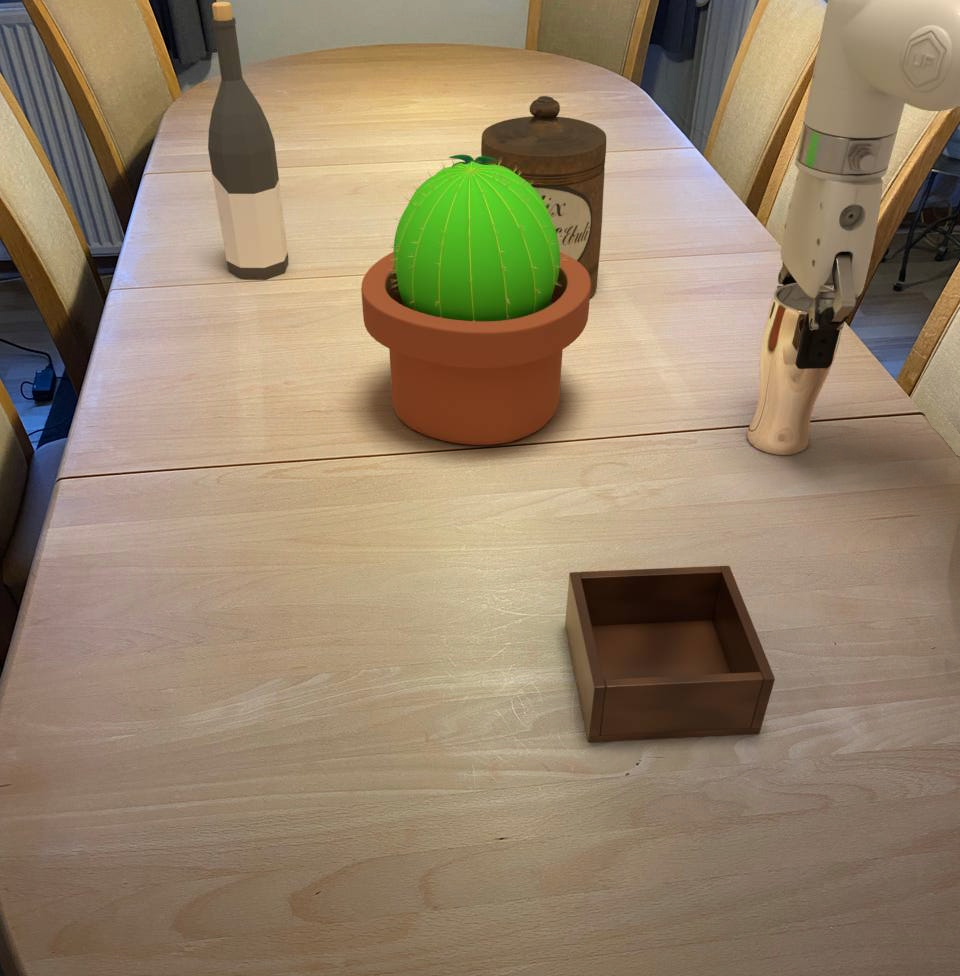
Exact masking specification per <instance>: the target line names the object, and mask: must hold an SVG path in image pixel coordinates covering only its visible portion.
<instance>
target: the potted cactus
mask: <svg viewBox="0 0 960 976" xmlns="http://www.w3.org/2000/svg"><path fill="white" fill-rule="evenodd" d="M448 159H452V160H454V161H451V162H452V165H451V166H447V167H446V163H444V161H441V164H442V165H439V166H440V170H438V171H437V172H436V173H435V174H434V175H431V174H430V173H431V172H430V170H429V172H427V174H428V176H429V178H427V179H426V180H424V182H423V183H422V184H420V185H419V186H417V187H416V186H415V185H413V184H412V185H411V186H412V188H413V189H415V191H414V193H413V194H412V196H411V198H410V199H409V198H408V197H405V199H406V201H408V204H407V206H405V209H404V211H403V213H402V214H401V216H400V219H398V218H396V216H393V218H394V217H395V221H397V222H398V224H397V227H396V230H395V235H394V239H393V240H394V241H393V245H391V246H390V248H391V249H393V251H392V252H390V253H388V254H387V255H384V256H383V257H381V258H380V259H379V260H378V261H376V262H375V263H374V264H373V265H371V267H370V268H369V269H368V270H367V271H366V273H365V274H364V276H363V278H362V282H361V288H360V289H361V306H362V316H363V317H362V318H363V324H364V327H365V329H366V332H367V333H368V335H370V336H371V337H372V338H373V339H374V340H375V341H376V342H377V343H379V344H381V345H382V346H384V347H385V348H387V349H388V350H389V364H390V365H389V366H390V384H391V397H392V398H391V401H392V406H393V410H394V412H395V414H396V416H397V417H398V419H399V420H400V421H401V422H402V423H403V424H405V425H406V426H408V427H409V428H410V429H412V430H414V431H415V432H418V433H420V434H422V435H424V436H427V437H430V438H433V439H436V440H439V441H443V442H444V441H445V442H448V443H453V444H460V445H469V446H491V445H492V446H493V445H501V444H507V443H511V442H516V441H518V440H521V439H523V438H526V437H528V436H530V435H532V434H534V433H535V432H537V431H539V430H540V429H541V428H543V427H544V426H545V425H547V423H548V422H549V421H551V419H552V418H553V416H554V415H555V413H556V411H557V409H558V406H559V403H560V395H561V394H560V393H561V380H562V379H561V378H562V365H563V352H564V351H563V350H564V349H566V348H567V347H569V346H570V345H571V344H573V343H574V342H575V341H576V340H577V339H578V338H579V337H580V336H581V334H583V332H584V330H585V328H586V327H587V323H588V320H589V314H590V301H591V297H590V289H591V281H590V276H589V274H588V272H587V270H586V269H585V268H584V267H583V266H582V265H581V264H580V263H579V262H578V261H576V260H575V259H573V258H571V257H570V256H568V255H566V254H564V253H561V252H560V248H559V242H558V239H561V238H558V237H557V233H556V230H555V229H556V228H555V227H554V225H553V222H552V220H551V218H550V215H549V212H548V210H547V207H546V205H545V204H546V203H547V202H546V203H544V200H542V198H541V196H540V195H539V194H538V192H537V191H536V190H535V189H534V188H533V187H532V186H531V184H532V183H533V182H532V183H531V184H529V183H528V182H529V181H528V182H527V181H525V180H524V179H523V178H521V177H519V175H517V174H515V173H514V172H515V171H516V169H514V170H515V171H514V172H513V171H511V170H510V169H508V168H506V167H503V166H499V163H500V162H499V163H498V165H496V164H494V163H493V164H490V163H486V162H489V161H498V160H496V159H493V158H490V157H485V156H481V155H480V156H477V157H476V158H473V157H472V156H471V155H469V154H455V155H452V156H451V155H450V156H449V157H448ZM502 159H503V158H502ZM456 160H461V161H456ZM485 163H486V164H485ZM496 163H497V162H496ZM515 166H516V165H515ZM516 168H517V167H516ZM519 172H520V170H519ZM520 173H521V172H520ZM520 173H518V174H520ZM548 198H549V197H548ZM545 200H546V199H545ZM548 202H549V201H548ZM549 204H550V203H549ZM547 205H548V204H547ZM555 217H556V216H555ZM553 219H554V218H553ZM557 219H558V218H557ZM554 220H555V219H554ZM557 227H558V226H557ZM558 228H560V227H558ZM563 236H564V235H563ZM562 239H563V238H562ZM561 247H565V246H561Z"/></svg>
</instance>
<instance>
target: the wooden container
mask: <svg viewBox="0 0 960 976" xmlns="http://www.w3.org/2000/svg"><path fill="white" fill-rule="evenodd" d="M560 112H561V105H560V103H559V101H557V100H556V99H554V98H553V97H552V96H548V95H540V96H538V98H537V99H535V100H533V101H532V102H531V103H530V106H529V113H530V114H531V115H530V116H520V117H514V118H510V119H505V120H501V121H499V122H495V123H493V124H491V125H489V126H487V127H486V128H485V129H484V130H483V131H482V133H481V143H480V145H481V146H480V147H481V148H480V154H481V155H480V156H485V157H490V158H493V159H496V160H498V161H489V162H486V163H490V164H493V163H494V164H496V165H498V163H499V162H500V163H499V166H503V167H506V168H508V169H510V170H511V171H513V172H514V171H515V170H514V169H516V171H515V172H514V173H515V174H517V175H519V177H521V178H523V179H524V180H525V181H527V182H528V181H529V182H528V183H529V184H531V183H532V182H533V183H532V184H531V186H532V187H533V188H534V189H535V190H536V191H537V192H538V194H539V195H540V196H541V198H542V200H544V203H546V202H547V203H546V204H545V205H546V207H547V210H548V212H549V215H550V218H551V220H552V222H553V225H554V227H555V228H556V229H555V230H556V233H557V237H558V238H561V239H558V242H559V248H560V252H561V253H564V254H566V255H568V256H570V257H571V258H573V259H575V260H576V261H578V262H579V263H580V264H581V265H582V266H583V267H584V268H585V269H586V270H587V272H588V274H589V276H590V281H591V289H590V298H591V297H592V296H593V295H594V294H595V293H596V291H597V287H598V279H599V278H598V277H599V266H600V265H599V264H600V255H601V246H602V245H601V242H602V229H603V212H604V211H603V209H604V207H603V206H604V190H605V189H604V188H605V171H606V169H605V164H606V155H607V134H606V132H605V131H604V130H603V129H602V128H600V127H599V126H597V125H595V124H593V123H590V122H588V121H584V120H580V119H576V118H572V117H571V118H570V117H564V116H559V114H560ZM502 158H503V159H502ZM496 162H497V163H496ZM486 163H485V164H486ZM515 165H516V166H515ZM516 167H517V168H516ZM519 170H520V172H521V173H520V172H519ZM518 173H520V174H518ZM548 197H549V198H548ZM545 199H546V200H545ZM548 201H549V202H548ZM549 203H550V204H549ZM547 204H548V205H547ZM555 216H556V217H555ZM553 218H554V219H555V220H554V219H553ZM557 218H558V219H557ZM557 226H558V227H560V228H558V227H557ZM563 235H564V236H563ZM562 238H563V239H562ZM561 246H565V247H561Z"/></svg>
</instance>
